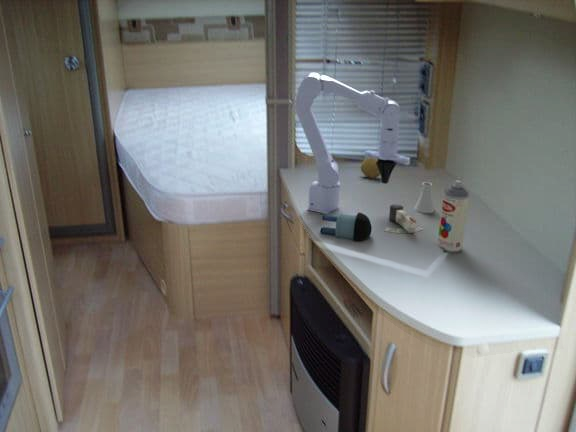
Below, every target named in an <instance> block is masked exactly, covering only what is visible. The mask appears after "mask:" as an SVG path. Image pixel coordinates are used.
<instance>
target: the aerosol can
mask: <svg viewBox="0 0 576 432" xmlns="http://www.w3.org/2000/svg"><path fill="white" fill-rule="evenodd" d="M469 201H470V192H469V191H468V190H467V189H466V188H465V187H464V186H463V185H462V181H461V180H458V179H457V180H454V183H453V184H452V185H450V186H449V187H448V188H445V189H444V191H443V194H442V201H441V209H440V210H441V211H440V218H439V227H438V237H437V246H439V247H440V248H442V249H444V250H443V253H446V254H452V255H453V254H459V253H460V252H462V250H463V244H464V235H465V230H466V221H467V215H468V214H467V213H468V209H469V208H468V207H469Z"/></svg>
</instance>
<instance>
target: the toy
mask: <svg viewBox="0 0 576 432" xmlns="http://www.w3.org/2000/svg"><path fill="white" fill-rule="evenodd" d="M321 217H322V218H321V220H322V221H325V222H334V223H335V228H333V227H325V226H322V227H321V226H320V227H321V228H320V233H322V234H328V235H335V237H336V238H342V239H343V238H344V239H351V240H353V241H354V242H362V241H365V240H367V239H368V238H370V236H371V234H372V230H373V229H372V228H373V227H372V224H371V220H370V218H369V217H368V216H367V215H366V214H364V213H363V212H357V214H356V215H353V214H346V213H338V214H337V216H336V215H330V214H324V215H322V216H321Z"/></svg>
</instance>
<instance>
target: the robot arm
mask: <svg viewBox="0 0 576 432" xmlns="http://www.w3.org/2000/svg"><path fill="white" fill-rule="evenodd" d="M296 93H297V94H296V98H295V104H294V110H295V112H296V115H297V118H298V120H299V122H300V124H301V128H302V130H303V132H304V135H305V137H306V140H307V143H308V144H309V147H310V150H311V152H312V154H313V157H314V160H315V164H316V165H315V166H316V168H317V171H318V180H315V181H312V182H311V183H310V186H309V190H308V207H307V208H306V209H307V210H308V211H313V212H316V213H320V214H324V215H329V214H330V213H331V212H333V211H337V210H338V209H339V208H340V190H341V189H340V186H341V181H339V173H340V166H339V164H338V162H336V161H335V160H334V158H333V155H332V154H331V153H330V151H329V149H328V147H327V144H326V142H325V138H324V136H323V133H322V132H321V129H320V125H319V123H318V122H317V119H316V117H315V114H314V111H313V108H312V106H313V103H314V100H315V99H317V98H318V96H319V95H320V94H321V93H322V96H325V95H329V94H335V95H337V96H339V97H342V98H344V99H347V100H349V101H352V102H355V103H356V104H357V106H358V109H360V110H362V111H365V112H367V113H368V114H371V115H374V116H376V117H381V123H380V127H379V140H378V141H379V142H378V150H369V149H368V150H366V151H364V158H365V159H366V158H368V157H369V158H375V159H378V161H377V162H376V165H377V166H378V169H379V171H380V175H379V176H380V179H381V184H387V183H389V181H390V177H391V176H392V175H391V174H392V172H393V171H394V168H395V167H396V165H397V164H403V165H405V166H409V165H410V164H411V157H407V156H405V155H402V154H398V146H399V145H398V144H399V143H398V142H399V132H400V126H399V125H400V119H401V117H402V111H401V107H400V105H399V104H398V102H396V101H395V100H393V99H390V98H389V97H382V96H380V95H379V94H376V92H375V90H372V89H371V90H370V91H368V90H365V91H359V90H357V89H354V88H353V87H350V86H348V85H346V84H345V83H342V82H341V81H338V80H336V79H334V78H332V77H329V76H327V75H324V74H322V75H321V74H320V73H318V72H316V71H315V72H313V71H312V72H309V73H307V74H306V75H305V76H304V78H303V80H302V81H301V82H300V85H299V87H298V88H297V92H296Z"/></svg>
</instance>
